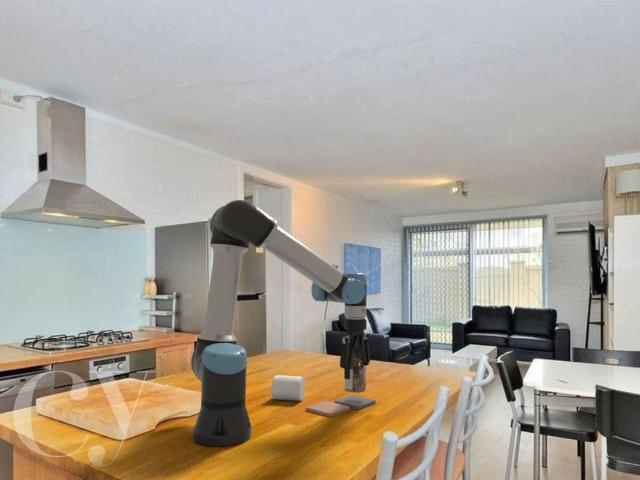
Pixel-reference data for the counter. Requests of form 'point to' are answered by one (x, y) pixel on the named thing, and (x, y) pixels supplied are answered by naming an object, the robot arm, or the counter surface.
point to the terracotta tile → (327, 408)
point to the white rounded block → (288, 388)
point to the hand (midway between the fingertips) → (355, 386)
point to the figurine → (357, 375)
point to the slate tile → (355, 402)
